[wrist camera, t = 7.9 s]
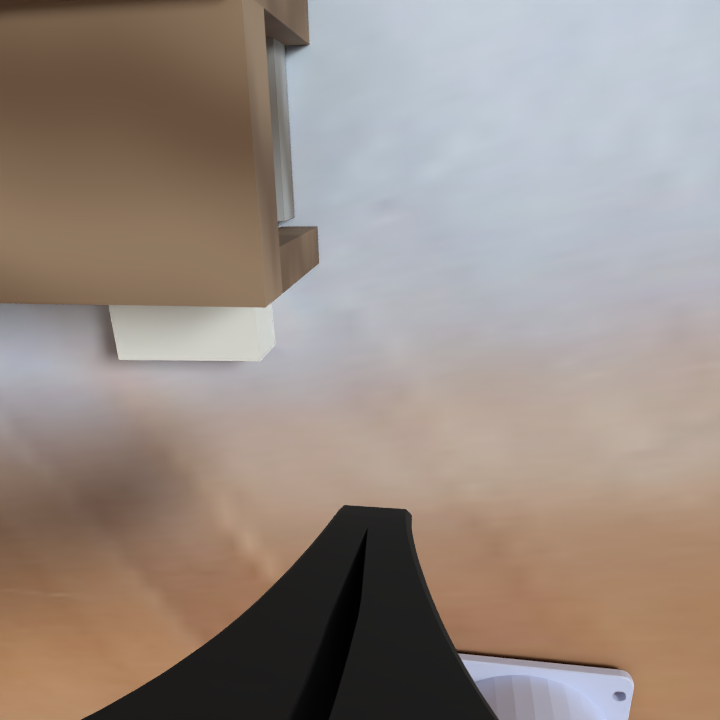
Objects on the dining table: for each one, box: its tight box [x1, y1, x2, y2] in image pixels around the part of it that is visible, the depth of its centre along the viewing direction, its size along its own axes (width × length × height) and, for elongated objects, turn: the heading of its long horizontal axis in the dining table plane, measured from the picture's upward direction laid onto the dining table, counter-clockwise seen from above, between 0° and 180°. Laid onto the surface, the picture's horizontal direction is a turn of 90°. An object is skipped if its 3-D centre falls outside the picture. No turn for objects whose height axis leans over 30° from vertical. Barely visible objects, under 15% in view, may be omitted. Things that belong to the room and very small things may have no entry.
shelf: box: [0, 0, 319, 308], centre depth 15 cm, size 8×10×6 cm
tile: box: [108, 303, 275, 361], centre depth 19 cm, size 9×5×2 cm, turn 2°
